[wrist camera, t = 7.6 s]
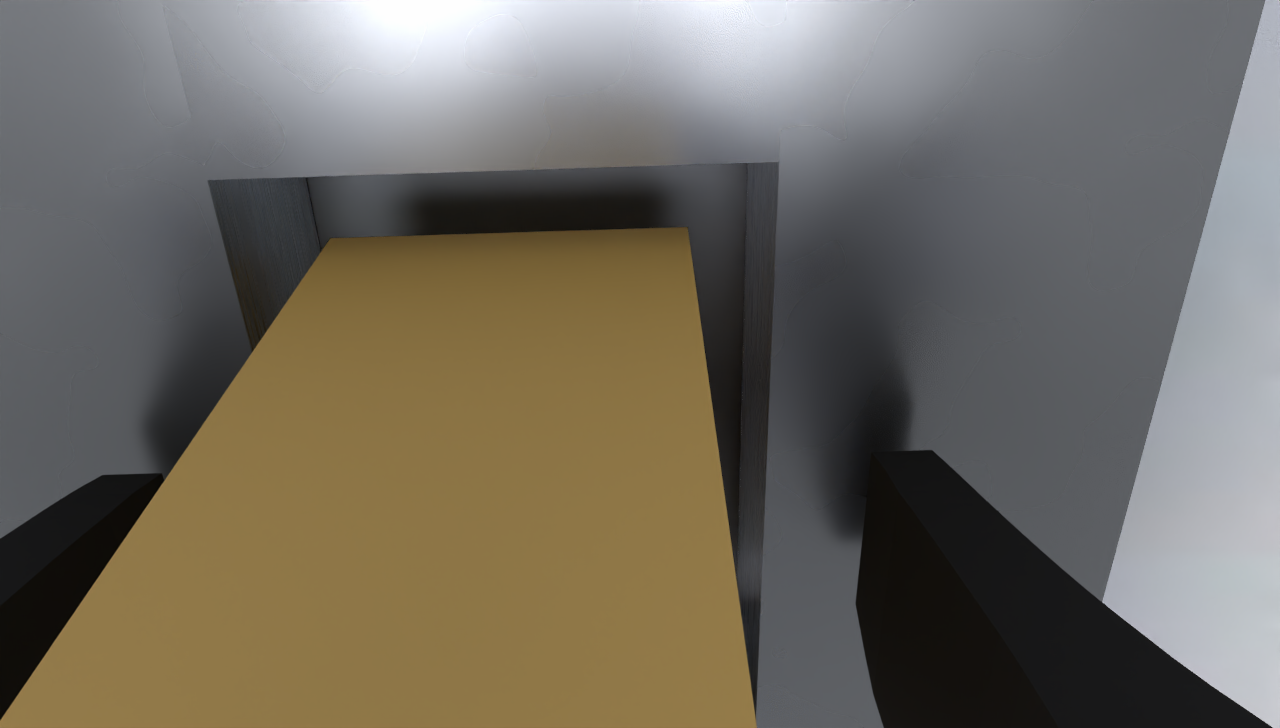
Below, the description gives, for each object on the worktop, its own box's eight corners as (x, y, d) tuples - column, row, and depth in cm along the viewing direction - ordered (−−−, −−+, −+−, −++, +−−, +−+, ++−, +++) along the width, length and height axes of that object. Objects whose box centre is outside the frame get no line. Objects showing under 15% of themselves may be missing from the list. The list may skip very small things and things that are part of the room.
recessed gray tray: (984, 676, 16) (1042, 817, 13) (162, 700, 16) (87, 844, 13) (1188, -328, 9) (1366, -370, 7) (-215, -279, 9) (-478, -305, 7)
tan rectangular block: (682, 561, 14) (733, 1275, 7) (443, 568, 14) (267, 1286, 7) (678, 161, 11) (755, 729, 4) (376, 171, 11) (-19, 750, 4)
